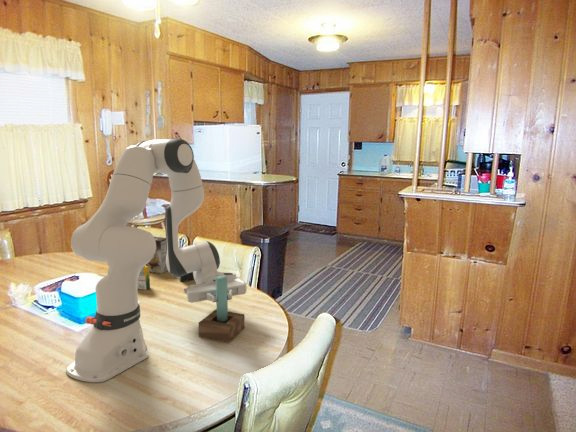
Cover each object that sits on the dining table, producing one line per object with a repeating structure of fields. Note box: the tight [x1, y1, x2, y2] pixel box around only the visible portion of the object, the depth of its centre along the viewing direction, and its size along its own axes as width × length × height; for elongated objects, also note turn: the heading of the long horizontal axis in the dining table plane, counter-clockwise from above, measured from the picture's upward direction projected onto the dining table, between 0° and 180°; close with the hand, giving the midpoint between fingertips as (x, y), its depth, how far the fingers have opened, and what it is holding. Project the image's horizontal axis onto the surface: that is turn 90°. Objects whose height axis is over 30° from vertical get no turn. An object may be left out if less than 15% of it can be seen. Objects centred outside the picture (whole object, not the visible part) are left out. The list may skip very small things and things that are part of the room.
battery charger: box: [178, 272, 194, 282], centre depth 180 cm, size 7×4×11 cm, turn 121°
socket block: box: [198, 308, 246, 344], centre depth 132 cm, size 11×11×5 cm
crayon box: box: [137, 265, 151, 291], centre depth 170 cm, size 7×3×12 cm, turn 74°
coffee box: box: [145, 236, 168, 274], centre depth 191 cm, size 9×6×16 cm
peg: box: [215, 276, 229, 323], centre depth 131 cm, size 4×4×16 cm
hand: (222, 298), depth 130 cm, fingers closed on peg, 4 cm apart
